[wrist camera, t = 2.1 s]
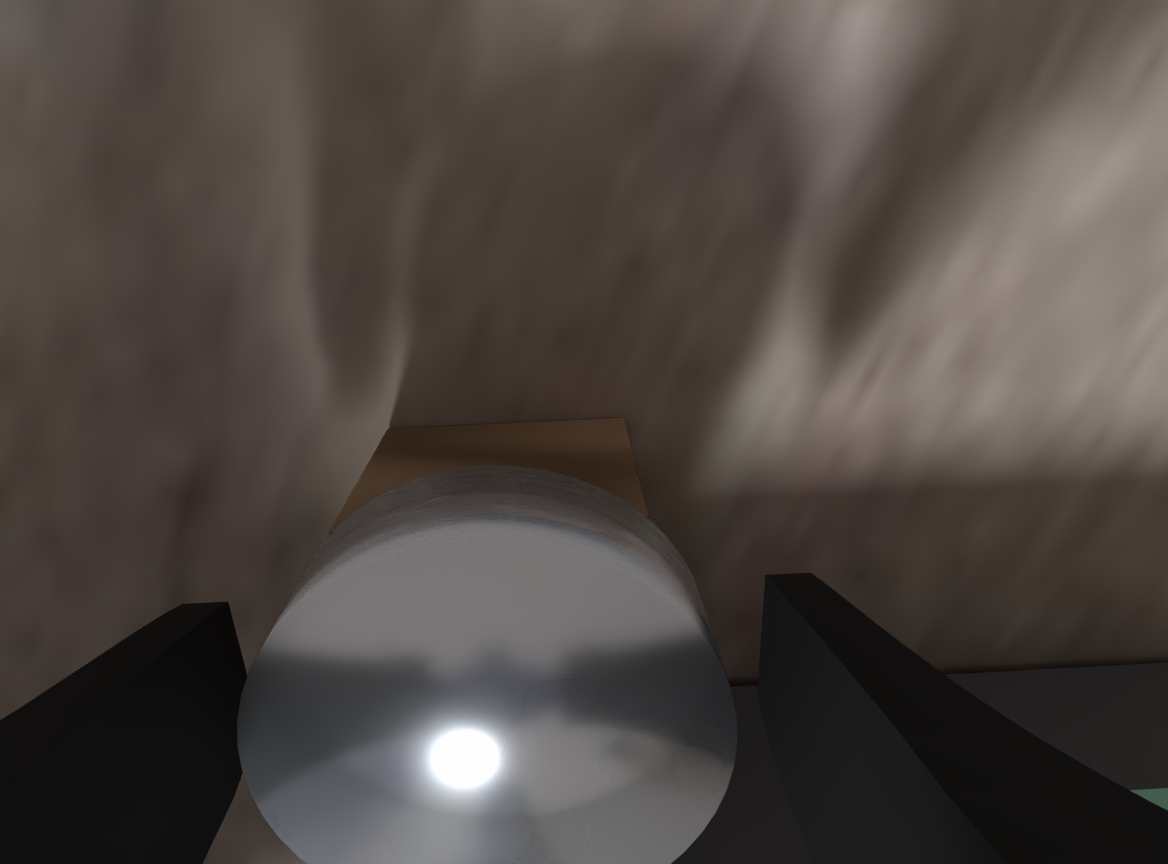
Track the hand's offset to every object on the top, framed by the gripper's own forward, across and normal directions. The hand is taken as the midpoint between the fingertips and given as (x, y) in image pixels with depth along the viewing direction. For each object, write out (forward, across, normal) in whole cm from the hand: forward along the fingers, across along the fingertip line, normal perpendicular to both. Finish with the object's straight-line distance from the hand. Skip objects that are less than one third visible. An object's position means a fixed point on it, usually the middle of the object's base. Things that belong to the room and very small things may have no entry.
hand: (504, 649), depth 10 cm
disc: (0, 0, 0) cm, 0 cm away
